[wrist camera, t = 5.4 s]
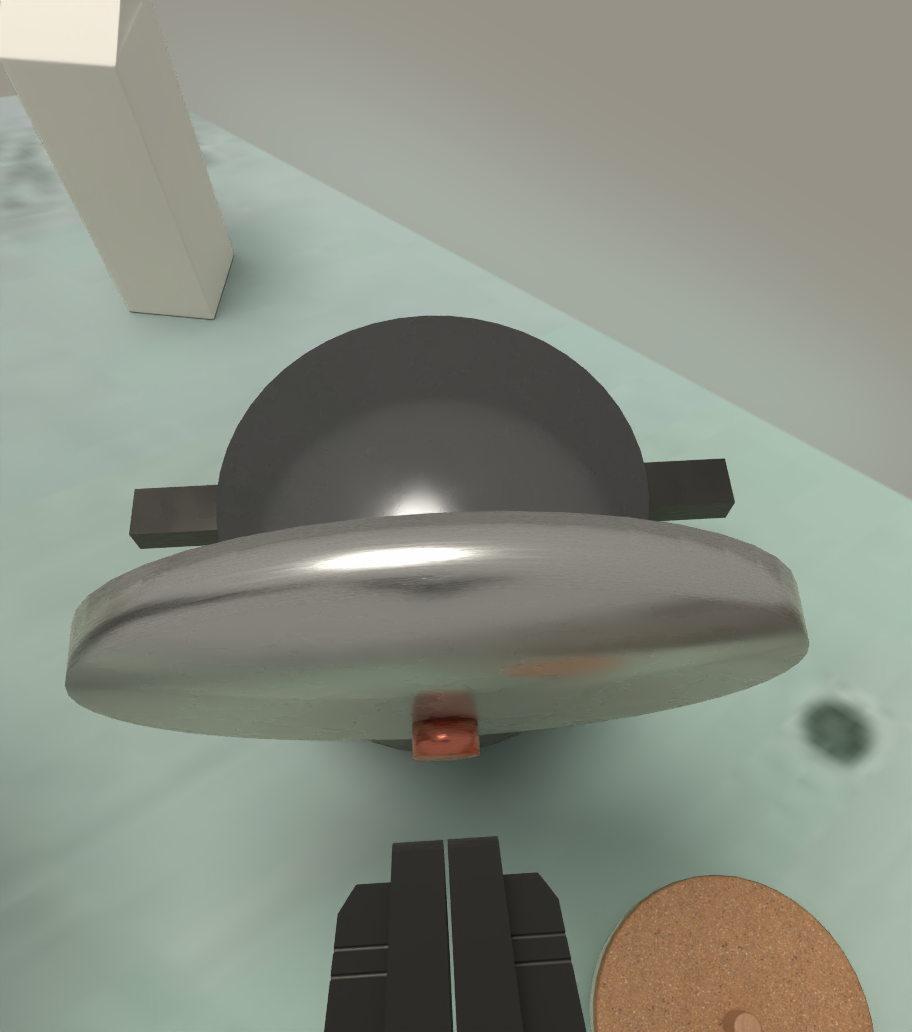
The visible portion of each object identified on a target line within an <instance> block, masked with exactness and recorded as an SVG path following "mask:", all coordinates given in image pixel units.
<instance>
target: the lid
mask: <svg viewBox="0 0 912 1032" xmlns="http://www.w3.org/2000/svg"><path fill="white" fill-rule="evenodd" d="M808 647H809V639H808V634H807V630H806V625H805V620H804V616H803V611H802V606H801V601H800V597H799V592H798V587H797V583H796V581H795V578H794V576H793V574H792V572H791V570H790V569H789V568H788V567H787V566H786V565H785V564H783V563H782V562H781V561H780V560H779V559H778V558H777V557H775V556H773V555H771V554H769V553H768V552H766V551H764V550H762V549H760V548H758V547H756V546H754V545H752V544H749V543H746V542H743V541H740V540H737V539H734V538H731V537H728V536H725V535H723V534H719V533H714V532H710V531H706V530H701V529H697V528H692V527H688V526H683V525H679V524H672V523H665V522H658V521H651V520H644V519H637V518H630V517H620V516H607V515H594V514H582V513H569V512H528V511H480V512H445V513H424V514H411V515H398V516H385V517H372V518H361V519H353V520H345V521H337V522H330V523H322V524H314V525H306V526H298V527H293V528H287V529H282V530H276V531H271V532H266V533H260V534H255V535H249V536H244V537H239V538H234V539H230V540H226V541H222V542H218V543H214V544H210V545H206V546H202V547H198V548H195V549H191V550H187V551H183V552H180V553H177V554H174V555H172V556H169V557H166V558H163V559H160V560H157V561H154V562H151V563H148V564H145V565H142V566H140V567H138V568H136V569H134V570H132V571H129V572H127V573H125V574H123V575H121V576H119V577H116V578H114V579H112V580H110V581H109V582H107V583H106V584H104V585H103V586H101V587H100V588H98V589H97V590H96V591H94V592H93V593H91V594H90V595H88V596H87V598H86V599H85V600H84V601H83V602H82V603H81V604H80V606H79V607H78V608H77V609H76V611H75V614H74V618H73V621H72V626H71V635H70V644H69V653H68V662H67V672H66V681H65V687H66V690H67V693H68V695H69V696H70V697H71V698H72V699H73V700H74V701H75V702H77V703H78V704H79V705H81V706H83V707H85V708H87V709H89V710H91V711H93V712H95V713H98V714H101V715H104V716H107V717H110V718H113V719H117V720H121V721H125V722H129V723H133V724H137V725H142V726H148V727H153V728H159V729H165V730H172V731H179V732H187V733H195V734H205V735H215V736H227V737H241V738H257V739H279V740H337V741H349V740H396V739H412V745H413V759H414V760H418V761H448V760H460V759H468V758H474V757H478V756H480V744H479V735H485V734H497V733H509V732H519V731H529V730H538V729H547V728H556V727H564V726H572V725H579V724H586V723H593V722H600V721H607V720H613V719H619V718H625V717H631V716H637V715H643V714H648V713H653V712H658V711H663V710H668V709H673V708H677V707H682V706H686V705H691V704H695V703H699V702H703V701H707V700H710V699H714V698H718V697H722V696H725V695H728V694H731V693H735V692H738V691H741V690H744V689H747V688H750V687H752V686H755V685H758V684H760V683H763V682H766V681H768V680H770V679H772V678H774V677H776V676H778V675H780V674H782V673H784V672H786V671H788V670H789V669H790V668H792V667H793V666H795V665H796V664H798V663H799V662H800V661H801V660H802V659H803V657H804V656H805V655H806V654H807V652H808Z"/></svg>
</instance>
